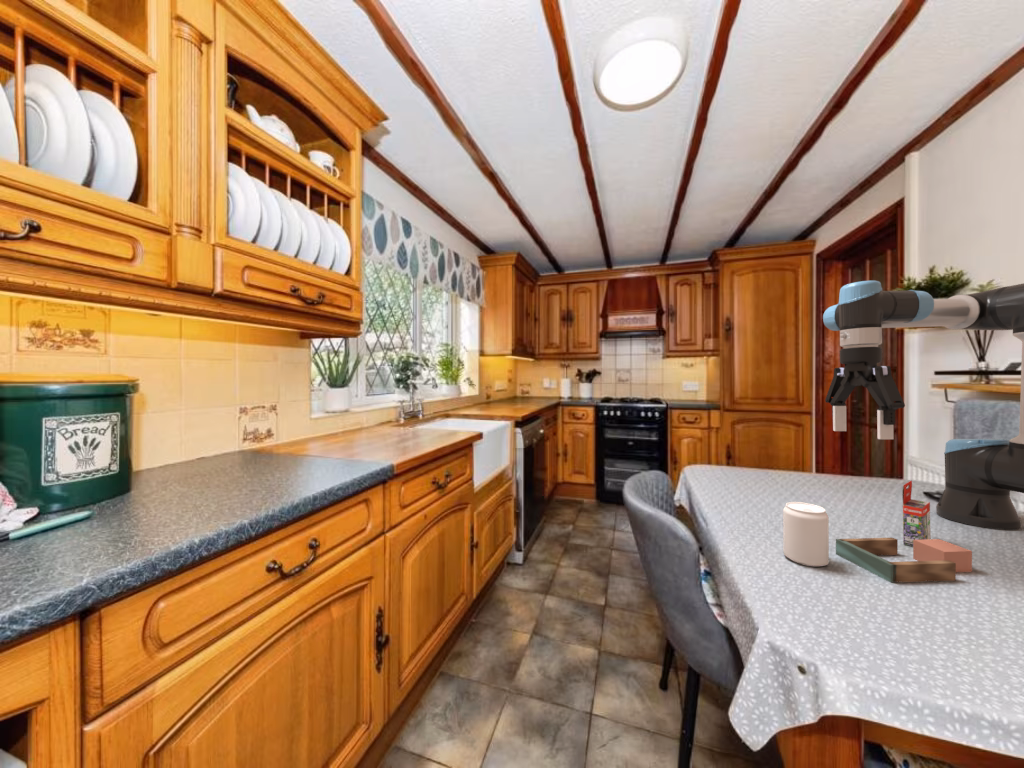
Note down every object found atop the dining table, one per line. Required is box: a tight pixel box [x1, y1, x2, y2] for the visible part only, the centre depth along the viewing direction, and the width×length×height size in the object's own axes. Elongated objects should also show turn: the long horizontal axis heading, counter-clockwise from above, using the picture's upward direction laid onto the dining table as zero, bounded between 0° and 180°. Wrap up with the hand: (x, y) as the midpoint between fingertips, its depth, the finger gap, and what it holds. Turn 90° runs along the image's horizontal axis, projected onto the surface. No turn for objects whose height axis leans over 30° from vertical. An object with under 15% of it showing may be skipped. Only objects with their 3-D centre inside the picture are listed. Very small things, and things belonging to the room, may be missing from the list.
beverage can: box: [782, 501, 830, 568], centre depth 86 cm, size 8×8×12 cm
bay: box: [835, 537, 957, 583], centre depth 82 cm, size 14×12×4 cm
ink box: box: [901, 480, 932, 548], centre depth 94 cm, size 4×8×15 cm, turn 123°
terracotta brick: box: [912, 538, 973, 573], centre depth 83 cm, size 6×6×4 cm
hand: (860, 434), depth 92 cm, fingers open, 13 cm apart
